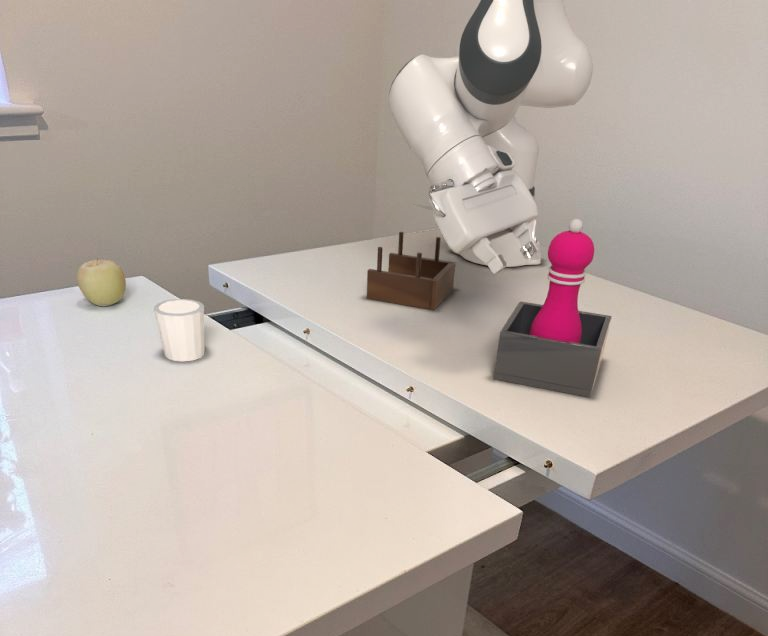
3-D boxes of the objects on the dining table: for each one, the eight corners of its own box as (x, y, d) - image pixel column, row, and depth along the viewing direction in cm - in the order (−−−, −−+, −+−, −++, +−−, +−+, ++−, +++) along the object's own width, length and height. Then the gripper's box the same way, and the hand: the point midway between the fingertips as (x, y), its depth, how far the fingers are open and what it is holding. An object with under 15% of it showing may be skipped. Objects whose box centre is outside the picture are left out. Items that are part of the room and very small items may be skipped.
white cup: (192, 340, 108) (187, 294, 104) (218, 355, 104) (213, 307, 100) (151, 352, 104) (143, 304, 100) (176, 367, 100) (170, 319, 96)
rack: (389, 279, 136) (391, 230, 130) (453, 289, 132) (458, 239, 127) (366, 298, 126) (368, 246, 121) (434, 310, 123) (438, 256, 118)
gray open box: (512, 345, 112) (519, 301, 108) (601, 360, 108) (611, 315, 104) (493, 379, 101) (500, 331, 97) (590, 397, 98) (601, 349, 94)
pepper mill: (561, 378, 100) (591, 229, 89) (515, 363, 104) (539, 218, 92) (583, 362, 105) (614, 219, 93) (538, 349, 108) (563, 209, 97)
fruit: (138, 303, 120) (130, 254, 115) (98, 314, 115) (89, 263, 110) (111, 292, 123) (103, 244, 119) (72, 302, 119) (62, 253, 114)
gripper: (439, 171, 90) (496, 266, 91) (516, 152, 104) (565, 235, 105) (408, 202, 95) (463, 292, 96) (486, 180, 109) (533, 260, 110)
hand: (517, 262), depth 101 cm, fingers open, 8 cm apart
